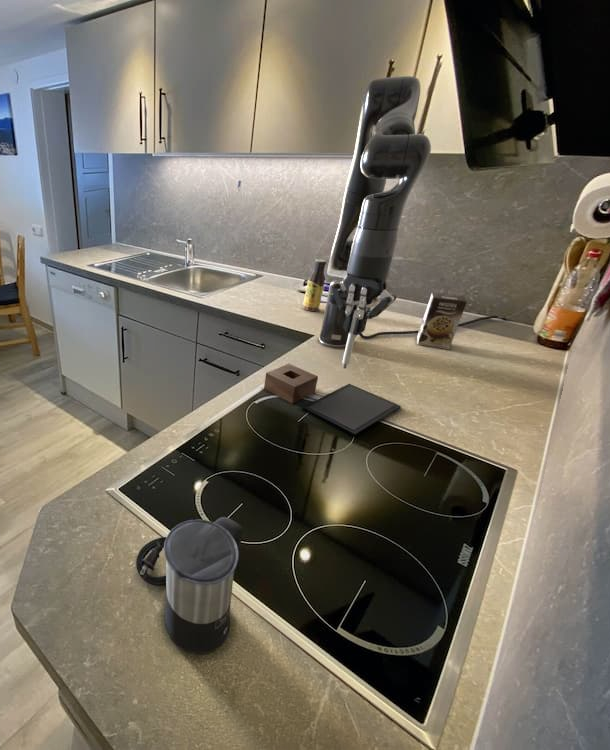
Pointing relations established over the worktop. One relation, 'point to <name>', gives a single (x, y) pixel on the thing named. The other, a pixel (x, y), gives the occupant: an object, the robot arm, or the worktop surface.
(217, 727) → the worktop surface
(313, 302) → the sauce bottle
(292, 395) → the stand
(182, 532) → the milk frother
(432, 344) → the brown upright rectangular box
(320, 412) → the tablet
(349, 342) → the stylus
